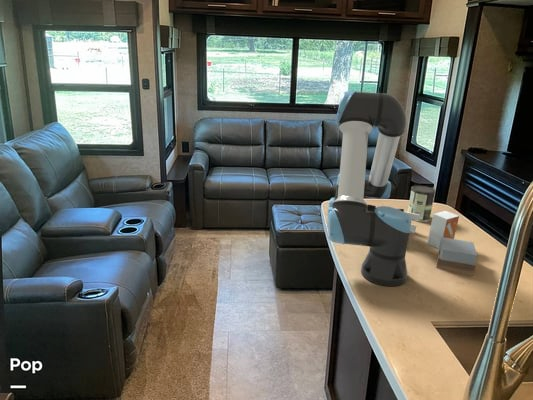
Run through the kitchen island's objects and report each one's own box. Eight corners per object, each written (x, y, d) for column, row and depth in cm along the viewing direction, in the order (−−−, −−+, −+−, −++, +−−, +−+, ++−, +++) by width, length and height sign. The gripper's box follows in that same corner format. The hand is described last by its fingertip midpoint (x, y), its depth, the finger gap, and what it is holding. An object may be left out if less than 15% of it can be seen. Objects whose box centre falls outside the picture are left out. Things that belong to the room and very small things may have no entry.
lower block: (472, 277, 146) (475, 266, 144) (435, 268, 150) (438, 258, 149) (472, 262, 156) (474, 252, 155) (437, 254, 161) (439, 245, 159)
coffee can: (425, 214, 199) (430, 185, 195) (432, 222, 190) (438, 193, 185) (403, 212, 199) (408, 184, 195) (410, 221, 190) (415, 191, 185)
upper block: (474, 265, 145) (477, 255, 144) (440, 259, 148) (443, 249, 147) (470, 252, 155) (473, 242, 154) (439, 246, 158) (441, 237, 157)
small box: (440, 250, 164) (447, 219, 159) (426, 243, 168) (432, 213, 164) (452, 245, 168) (459, 215, 163) (439, 239, 173) (445, 210, 168)
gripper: (369, 211, 189) (419, 221, 181) (357, 231, 168) (412, 243, 160) (372, 196, 187) (422, 205, 179) (359, 214, 165) (415, 225, 157)
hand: (417, 223), depth 169 cm, fingers open, 13 cm apart
